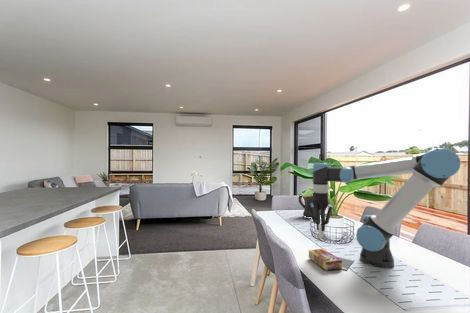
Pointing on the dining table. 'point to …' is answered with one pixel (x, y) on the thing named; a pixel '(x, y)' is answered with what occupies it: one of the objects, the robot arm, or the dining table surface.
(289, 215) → the dining table surface
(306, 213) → the beer stein
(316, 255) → the candy box
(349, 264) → the mat
